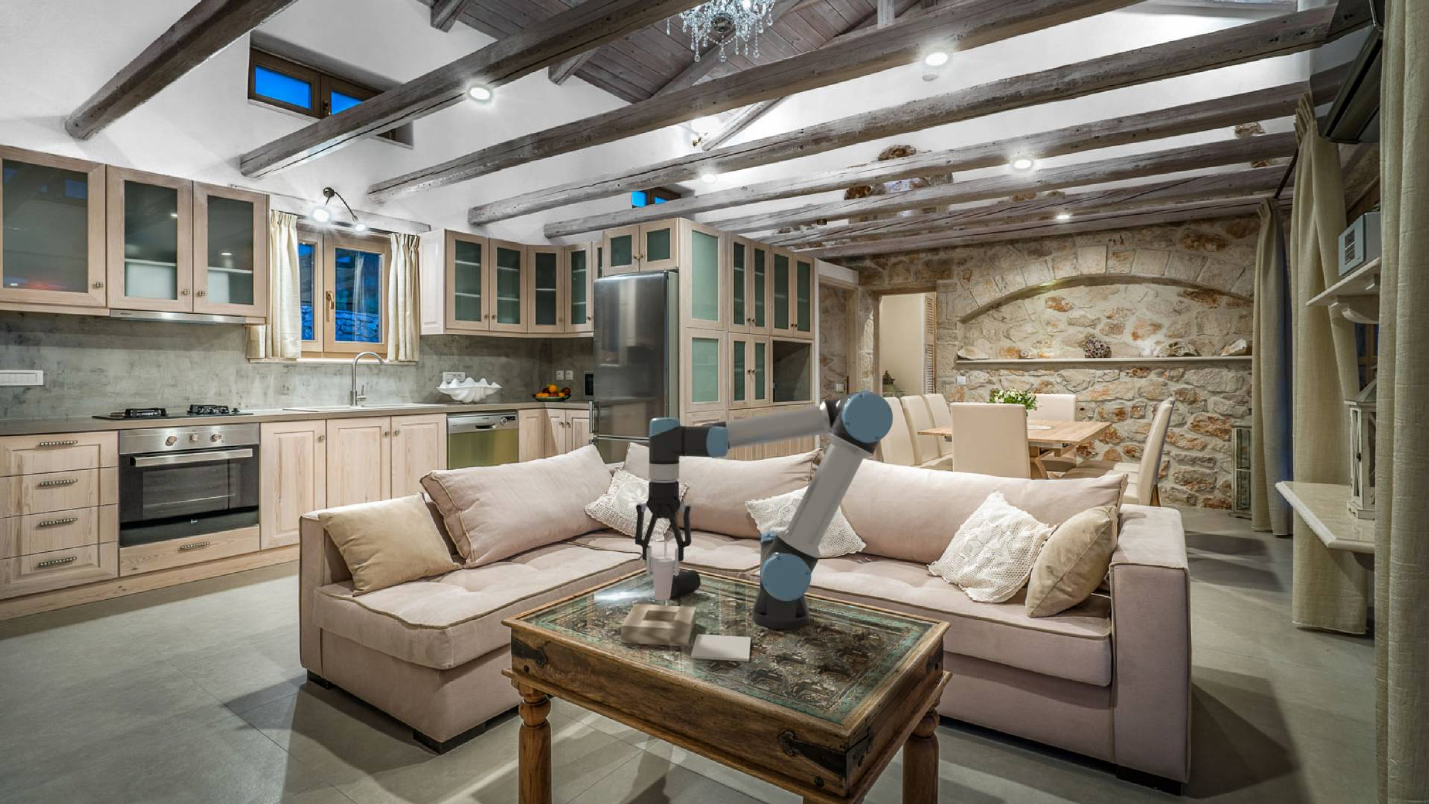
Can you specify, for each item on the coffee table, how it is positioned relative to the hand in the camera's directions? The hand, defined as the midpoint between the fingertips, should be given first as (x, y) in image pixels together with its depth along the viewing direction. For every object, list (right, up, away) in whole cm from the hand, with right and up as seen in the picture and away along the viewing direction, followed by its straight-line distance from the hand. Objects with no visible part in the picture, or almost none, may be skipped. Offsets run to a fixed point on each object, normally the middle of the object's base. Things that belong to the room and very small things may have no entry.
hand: (662, 573), depth 161 cm
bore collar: (-1, -15, 0) cm, 15 cm away
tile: (+14, -15, -9) cm, 23 cm away
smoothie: (0, -6, 0) cm, 6 cm away
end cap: (+3, -15, +30) cm, 34 cm away
